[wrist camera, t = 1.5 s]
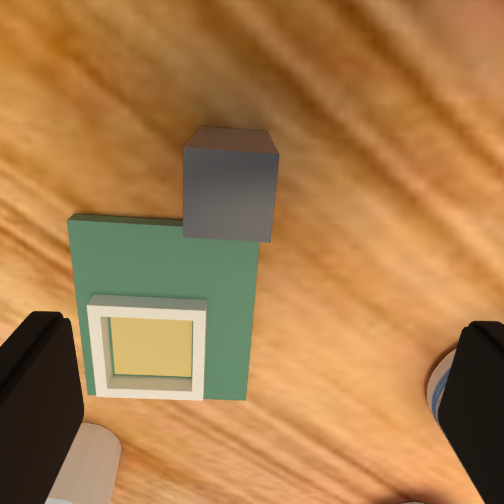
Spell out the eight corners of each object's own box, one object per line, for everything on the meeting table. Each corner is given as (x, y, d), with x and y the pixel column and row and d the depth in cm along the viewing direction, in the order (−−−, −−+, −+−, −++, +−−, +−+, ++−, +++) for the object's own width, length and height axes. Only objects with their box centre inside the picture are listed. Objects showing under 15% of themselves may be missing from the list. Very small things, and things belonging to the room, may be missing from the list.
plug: (200, 126, 24) (183, 147, 16) (267, 131, 24) (279, 154, 17) (199, 203, 26) (182, 253, 18) (260, 207, 26) (269, 258, 19)
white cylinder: (107, 408, 32) (74, 489, 26) (142, 464, 35) (119, 550, 29) (31, 428, 33) (-19, 513, 27) (71, 482, 36) (33, 570, 29)
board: (74, 213, 26) (57, 227, 23) (259, 224, 26) (261, 239, 24) (93, 383, 31) (80, 408, 29) (245, 389, 32) (245, 414, 30)
